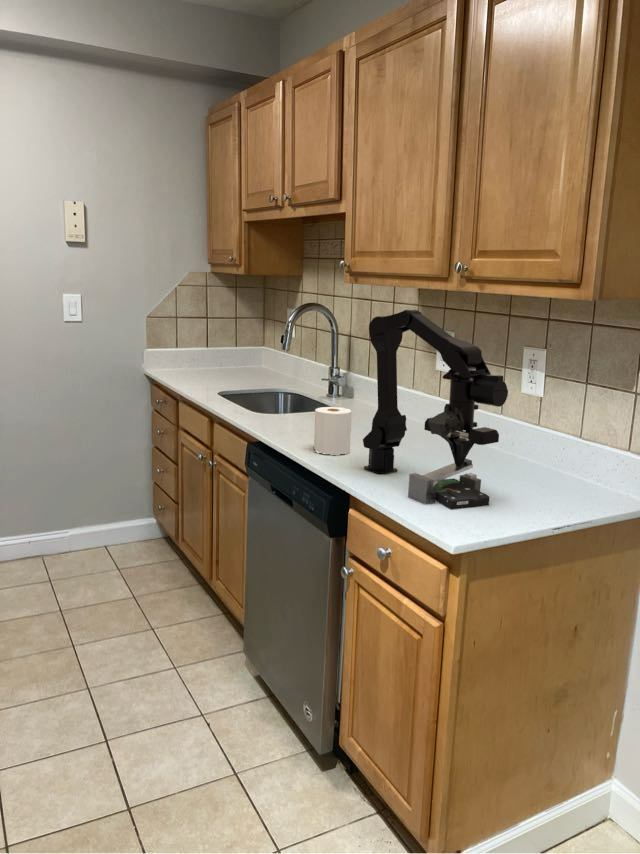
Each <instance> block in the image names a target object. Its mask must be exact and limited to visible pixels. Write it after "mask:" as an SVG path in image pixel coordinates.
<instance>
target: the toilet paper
mask: <svg viewBox="0 0 640 854" xmlns="http://www.w3.org/2000/svg"><path fill="white" fill-rule="evenodd" d="M352 413H353V412H352V410H351V409H349V408H345V407H341V406H340V407H338V406H324V407H323V406H321V407H317V408H315V409H314V437H313V438H314V440H313V450H314V449H315V451H318V452H321V453H325V454H332V455H331V456H333V455H336V456H341V455H340V454H345V455H348V454H350V453H351V440H352V439H351V434H352ZM315 451H314V452H315ZM349 452H350V453H349ZM347 453H348V454H347Z"/></svg>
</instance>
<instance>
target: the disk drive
mask: <svg viewBox="0 0 640 854" xmlns="http://www.w3.org/2000/svg"><path fill="white" fill-rule="evenodd" d="M490 499H491V497H490V496H489V495H488V494H487V493H484V492H482V491H481V490H480V491H478V490H476V489H474V488H472V487H470V486H468V485H466V484H464V483H462V482H461V481H460V480H458V479H456V478H446V479H443V480H441V481H438V485H437V489H436V502H437V503H439V504H441V505H442V506H444V507H445V508H447V509H449V510H451V511H453V510H459V509H468V508H469V509H470V508H478V507H479V508H480V507H487V506H490V501H491V500H490Z"/></svg>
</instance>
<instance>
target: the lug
mask: <svg viewBox="0 0 640 854" xmlns="http://www.w3.org/2000/svg"><path fill="white" fill-rule="evenodd" d="M477 476H478V475H477V474H476V473H473V472H466V473H464V474H460V475H459V481H461V482H462V483H464V484H466V485H468V486H470V487H472V488H474V489H476V490H478V491H480V492H481V486H482V485H481V484H482V479H481V478H477Z"/></svg>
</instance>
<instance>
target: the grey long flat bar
mask: <svg viewBox="0 0 640 854" xmlns="http://www.w3.org/2000/svg"><path fill="white" fill-rule="evenodd" d="M473 468H474V465H473V460H472V459H469V458H467V457H466V458H465V460H464V462H463V463H462V465H461V466H456V465H455V462H453V463H450V464H448V465H445V466H442V467H440V468H438V469H435V470H433V471H430V472H426V473H424V474H421V475H422V476H425V477H428V478H430V479H433V480H437V482H438V481H441V480H443V479H449V478H450V477H453V476H456V475H459V474H460V473H463V472H466V471H467V470H470V469H473Z"/></svg>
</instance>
